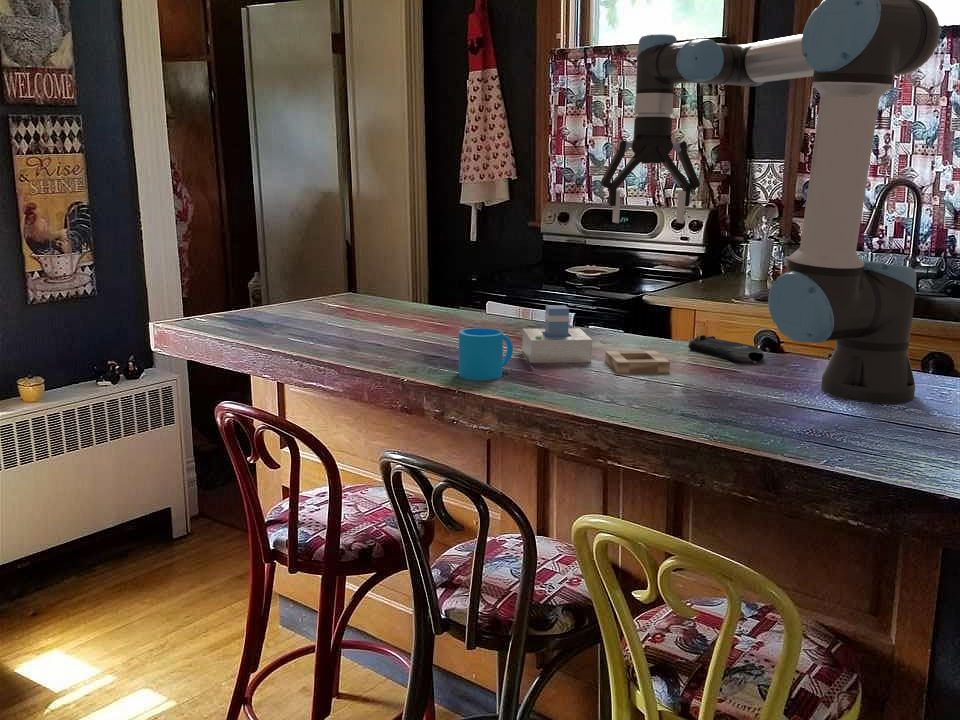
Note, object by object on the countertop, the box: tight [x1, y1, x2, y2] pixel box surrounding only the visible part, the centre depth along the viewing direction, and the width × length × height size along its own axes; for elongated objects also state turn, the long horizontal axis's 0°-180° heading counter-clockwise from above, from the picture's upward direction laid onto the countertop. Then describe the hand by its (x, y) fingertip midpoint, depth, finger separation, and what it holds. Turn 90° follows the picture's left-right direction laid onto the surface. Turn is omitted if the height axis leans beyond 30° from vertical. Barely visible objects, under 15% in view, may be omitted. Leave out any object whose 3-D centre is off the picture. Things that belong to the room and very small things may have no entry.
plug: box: [544, 304, 570, 337], centre depth 184 cm, size 4×4×10 cm
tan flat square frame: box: [604, 350, 671, 374], centre depth 176 cm, size 10×10×2 cm
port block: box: [521, 327, 593, 366], centre depth 184 cm, size 12×12×5 cm
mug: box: [458, 327, 514, 381], centre depth 171 cm, size 12×8×8 cm
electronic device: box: [687, 334, 765, 364], centre depth 189 cm, size 9×6×15 cm
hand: (648, 222), depth 189 cm, fingers open, 13 cm apart
